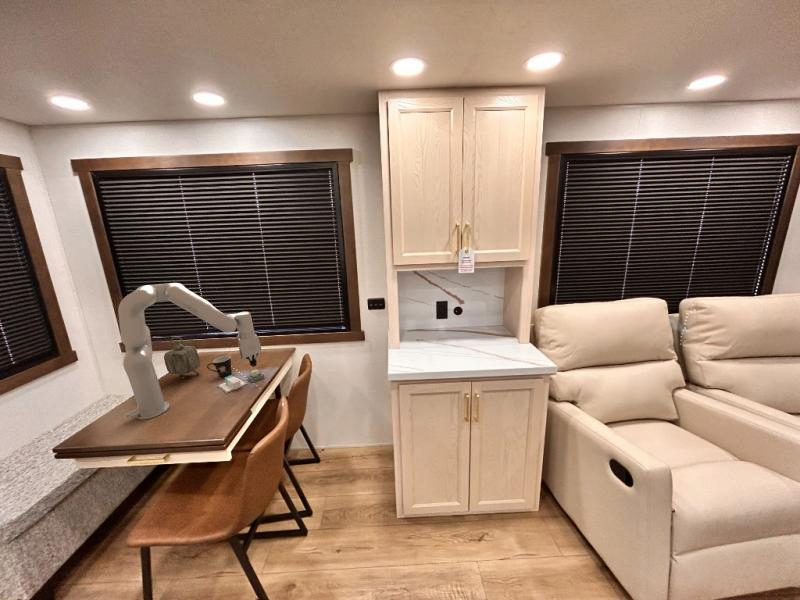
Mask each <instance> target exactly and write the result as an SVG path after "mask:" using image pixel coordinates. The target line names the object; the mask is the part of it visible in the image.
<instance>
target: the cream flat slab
mask: <svg viewBox="0 0 800 600" xmlns="http://www.w3.org/2000/svg"><path fill="white" fill-rule="evenodd" d="M236 378H237V379H238V380H240V382H241V387H239V388H237V389H235V390H234V389H233V388H232V387H230V386H229V385H227V384H226V381H225V382H223V383H220V384H218V385H216V387H217V388H219V389H220V390H221V391H222V392H224V393H225V394H227V395H228V394H229V393H232V392H233V391H237V390H238V389H241V388H242V387H245V386H248V385H249V383H248V382H246V381H244V380H243V379H242V378H240V377H236Z"/></svg>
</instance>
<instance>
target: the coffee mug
mask: <svg viewBox="0 0 800 600" xmlns="http://www.w3.org/2000/svg"><path fill="white" fill-rule="evenodd" d="M231 360H232V359H231V356H229V355H225V356H224V355H223V356H219V357H217V358H215V359H214V360H213V362H210V363H208V364H207V366H206V368H207V370H210V371H212V372H215V373H217V375H218V377H219V378H222V379H225V378H226V377H228V376H231V375H232V374H233V371H232V369H233V368H232V361H231ZM210 365H213V366H214V368H215V369H211V368H210V367H209V366H210Z"/></svg>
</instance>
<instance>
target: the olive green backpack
mask: <svg viewBox="0 0 800 600" xmlns="http://www.w3.org/2000/svg"><path fill="white" fill-rule="evenodd" d="M174 339H179V340H180V342H179V341H176V342H174V341H173V340H174ZM170 341H171V343H173V344H175V345H173V348H172V349H171V350H169V351H167V352H165V353H164V355H163V360H164V364H165V367H166V370H167V372H168V374H171V375H179V376H181V379H182V380H185V379H186V377H185V375H187V374H190V373H192V372H193V373H195V375H196V376H197V375H200V372H199V371H196V369H198V368H200V367H201V359H200V356H199V353H198V350H197V349H196V347H195V346H192V345H184V344H182V343H183V341H184V340H183V338H181V337H178V336H174V337H171V339H170Z"/></svg>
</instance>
